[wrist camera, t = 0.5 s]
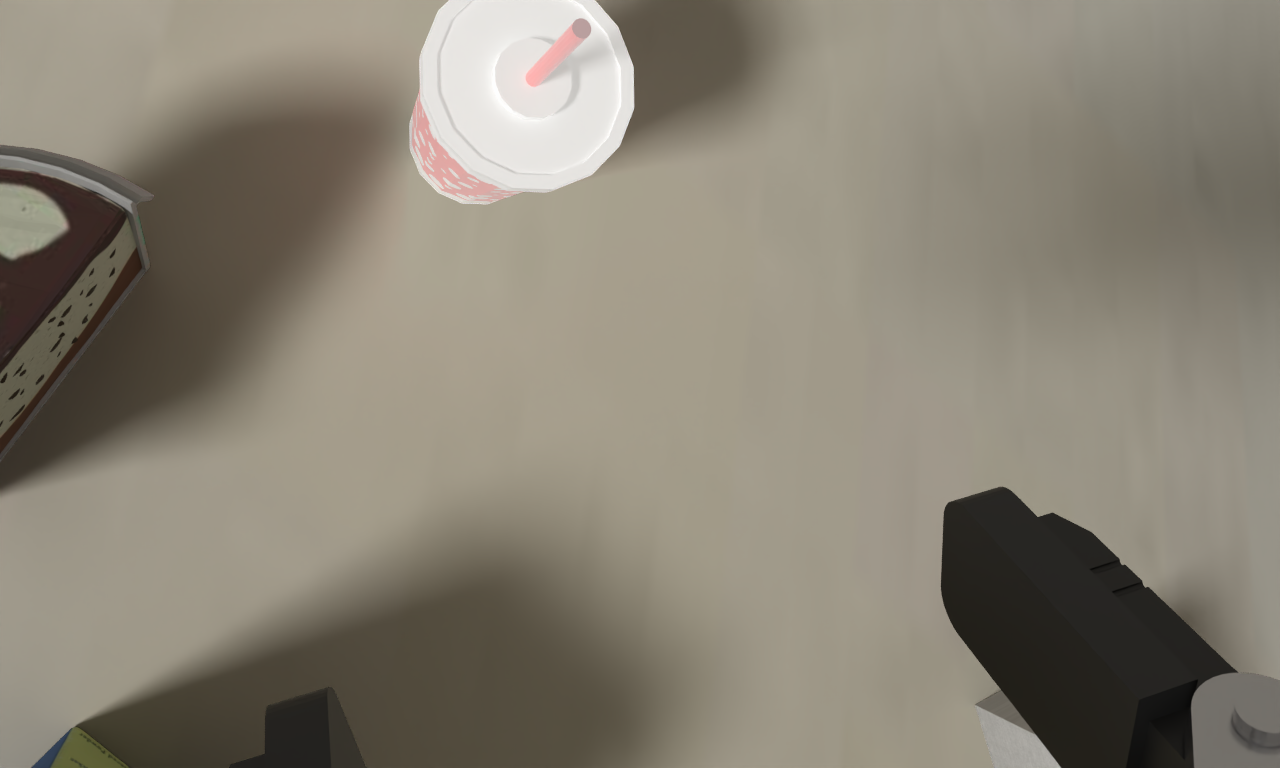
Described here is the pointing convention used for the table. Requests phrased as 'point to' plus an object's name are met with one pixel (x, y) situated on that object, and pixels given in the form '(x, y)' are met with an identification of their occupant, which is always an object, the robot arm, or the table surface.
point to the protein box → (78, 753)
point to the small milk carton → (1011, 736)
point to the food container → (58, 271)
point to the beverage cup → (519, 97)
